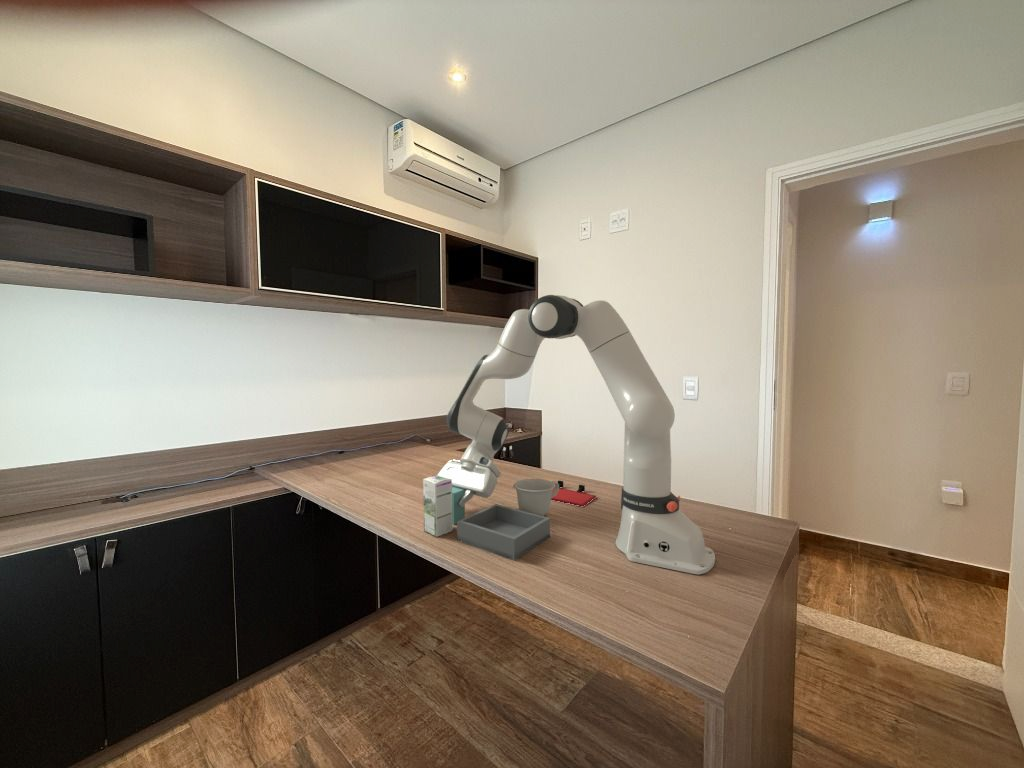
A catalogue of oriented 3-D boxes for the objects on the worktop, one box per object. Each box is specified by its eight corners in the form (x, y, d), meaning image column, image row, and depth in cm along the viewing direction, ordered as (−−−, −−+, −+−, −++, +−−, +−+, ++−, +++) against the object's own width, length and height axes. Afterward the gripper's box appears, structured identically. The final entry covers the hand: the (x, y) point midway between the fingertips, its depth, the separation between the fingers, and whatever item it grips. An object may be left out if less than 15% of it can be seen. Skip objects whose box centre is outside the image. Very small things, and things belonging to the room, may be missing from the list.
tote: (549, 536, 105) (550, 518, 105) (514, 560, 92) (514, 539, 92) (496, 521, 116) (496, 503, 116) (457, 540, 103) (457, 521, 103)
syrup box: (453, 531, 109) (453, 478, 108) (435, 537, 104) (435, 482, 104) (440, 525, 113) (440, 474, 112) (422, 531, 108) (422, 478, 108)
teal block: (464, 520, 117) (464, 489, 116) (453, 524, 113) (453, 493, 113) (453, 516, 119) (453, 486, 119) (442, 521, 116) (442, 490, 115)
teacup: (570, 518, 118) (571, 485, 118) (528, 529, 110) (529, 493, 110) (546, 506, 128) (546, 475, 128) (506, 515, 121) (506, 482, 120)
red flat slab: (527, 481, 157) (505, 491, 144) (527, 474, 157) (505, 484, 144) (600, 496, 140) (583, 510, 128) (601, 488, 140) (583, 501, 128)
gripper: (445, 452, 127) (421, 490, 120) (496, 461, 115) (473, 505, 108) (455, 463, 131) (432, 501, 123) (505, 474, 119) (484, 516, 111)
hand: (452, 503), depth 115 cm, fingers closed on teal block, 4 cm apart
